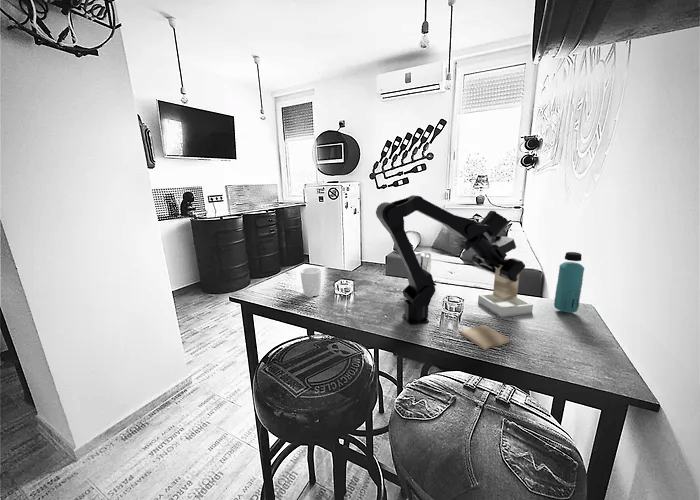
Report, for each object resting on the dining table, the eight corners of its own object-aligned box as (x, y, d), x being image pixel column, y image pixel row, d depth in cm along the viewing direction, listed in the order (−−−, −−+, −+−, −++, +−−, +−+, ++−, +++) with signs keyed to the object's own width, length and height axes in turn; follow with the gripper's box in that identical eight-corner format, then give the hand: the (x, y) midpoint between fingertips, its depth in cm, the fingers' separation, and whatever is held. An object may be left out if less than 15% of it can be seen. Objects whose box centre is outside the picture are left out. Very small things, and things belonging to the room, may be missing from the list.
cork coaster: (484, 349, 75) (484, 347, 75) (460, 333, 83) (460, 330, 83) (510, 342, 78) (510, 339, 78) (484, 326, 86) (484, 324, 86)
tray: (500, 317, 92) (501, 308, 91) (477, 302, 103) (478, 294, 102) (532, 313, 94) (533, 304, 93) (506, 299, 105) (507, 291, 104)
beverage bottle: (570, 319, 89) (580, 256, 84) (548, 310, 95) (556, 252, 90) (581, 314, 92) (592, 253, 87) (559, 306, 98) (568, 249, 93)
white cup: (326, 292, 117) (324, 269, 114) (313, 299, 110) (311, 274, 108) (311, 289, 121) (309, 266, 119) (298, 295, 115) (296, 272, 112)
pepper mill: (503, 300, 95) (507, 261, 91) (493, 294, 99) (496, 257, 96) (516, 299, 95) (521, 260, 92) (505, 293, 100) (509, 256, 97)
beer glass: (430, 294, 112) (432, 256, 108) (412, 293, 113) (413, 256, 110) (429, 287, 118) (430, 252, 115) (412, 286, 120) (412, 251, 116)
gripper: (523, 234, 82) (551, 268, 87) (482, 225, 100) (507, 253, 105) (496, 263, 83) (525, 295, 87) (460, 248, 100) (485, 276, 105)
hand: (510, 278), depth 96 cm, fingers closed on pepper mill, 5 cm apart
